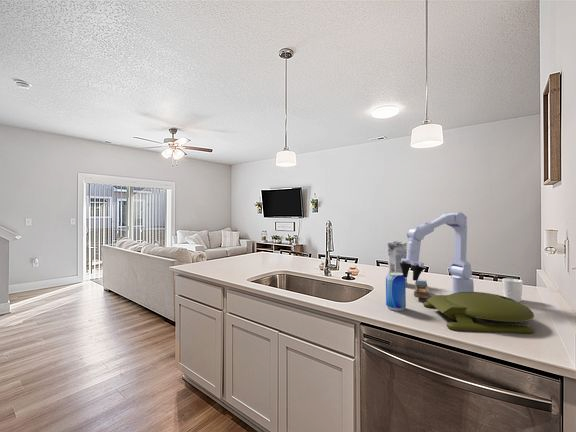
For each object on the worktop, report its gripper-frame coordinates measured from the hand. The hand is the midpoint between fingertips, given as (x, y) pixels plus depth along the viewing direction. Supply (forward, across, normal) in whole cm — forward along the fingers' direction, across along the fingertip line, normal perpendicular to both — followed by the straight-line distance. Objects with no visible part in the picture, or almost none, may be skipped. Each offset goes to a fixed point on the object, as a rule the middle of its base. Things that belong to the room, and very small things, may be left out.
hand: (409, 278), depth 141 cm
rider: (+5, -9, +15) cm, 18 cm away
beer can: (+13, +10, -13) cm, 21 cm away
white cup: (+3, +15, +49) cm, 51 cm away
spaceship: (+9, +29, +12) cm, 33 cm away
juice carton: (+8, -30, +17) cm, 35 cm away
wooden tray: (+9, -4, +11) cm, 15 cm away
